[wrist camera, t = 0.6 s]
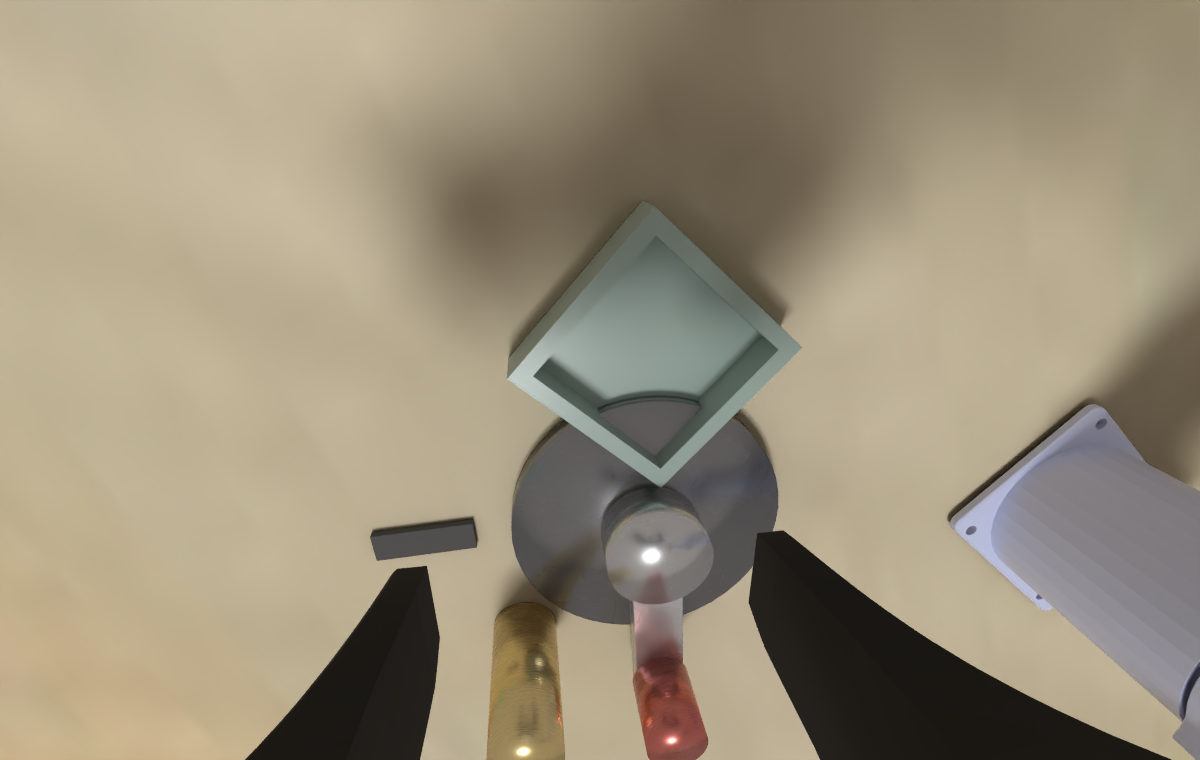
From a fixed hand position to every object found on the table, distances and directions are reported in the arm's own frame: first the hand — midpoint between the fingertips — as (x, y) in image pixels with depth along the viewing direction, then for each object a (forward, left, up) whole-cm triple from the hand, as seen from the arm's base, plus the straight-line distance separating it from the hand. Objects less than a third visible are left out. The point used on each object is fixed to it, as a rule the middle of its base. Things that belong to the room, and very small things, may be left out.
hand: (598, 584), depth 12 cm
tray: (-1, -3, -10) cm, 10 cm away
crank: (-8, +4, -8) cm, 13 cm away
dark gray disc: (-6, +2, -10) cm, 12 cm away
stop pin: (-6, +10, -10) cm, 15 cm away
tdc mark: (0, +8, -10) cm, 13 cm away
